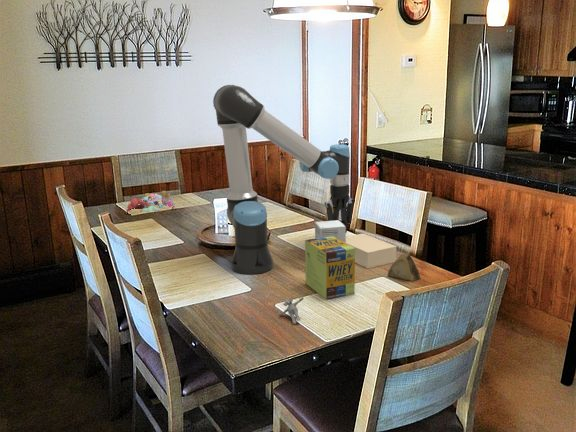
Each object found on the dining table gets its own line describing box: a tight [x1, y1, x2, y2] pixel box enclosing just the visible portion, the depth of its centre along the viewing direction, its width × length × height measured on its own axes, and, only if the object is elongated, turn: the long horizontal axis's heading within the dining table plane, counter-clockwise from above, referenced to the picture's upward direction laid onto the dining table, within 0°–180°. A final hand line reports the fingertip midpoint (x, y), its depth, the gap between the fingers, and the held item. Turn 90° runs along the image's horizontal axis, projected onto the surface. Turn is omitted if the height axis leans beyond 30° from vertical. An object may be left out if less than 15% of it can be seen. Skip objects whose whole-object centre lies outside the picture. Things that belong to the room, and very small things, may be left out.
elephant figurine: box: [278, 297, 305, 325], centre depth 161 cm, size 9×5×8 cm
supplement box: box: [314, 220, 347, 243], centre depth 198 cm, size 10×9×17 cm
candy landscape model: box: [126, 190, 175, 213], centre depth 291 cm, size 25×24×9 cm
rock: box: [387, 253, 422, 281], centre depth 191 cm, size 10×8×10 cm
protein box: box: [304, 236, 356, 300], centre depth 181 cm, size 10×15×16 cm
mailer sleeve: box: [346, 233, 397, 270], centre depth 211 cm, size 20×13×6 cm, turn 30°
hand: (339, 241), depth 225 cm, fingers closed on mailer tray, 2 cm apart
